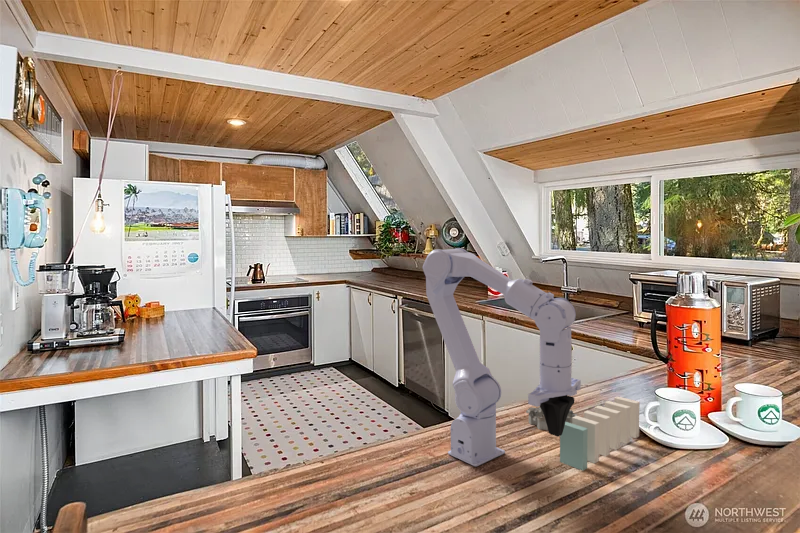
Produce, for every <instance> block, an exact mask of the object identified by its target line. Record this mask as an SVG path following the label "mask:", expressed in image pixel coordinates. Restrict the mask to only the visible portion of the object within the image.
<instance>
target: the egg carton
mask: <svg viewBox="0 0 800 533" xmlns="http://www.w3.org/2000/svg"><path fill="white" fill-rule="evenodd" d="M525 413H526V414H528V424H530V425H534V426H536V428H537V429H538V430H542V431H543V430H545V431H548V428H547V424H546V420H545V417H544V414H543V412H542V410H541V408H540V406H538V407H532V406H531V407H529V408H527V410H526V411H525ZM575 416H578V413H574V411H573V410H572V409H570V411H569V413H568V415H567V418H566V422H568V423H572V417H575Z"/></svg>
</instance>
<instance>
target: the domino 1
mask: <svg viewBox="0 0 800 533" xmlns="http://www.w3.org/2000/svg"><path fill="white" fill-rule="evenodd" d="M559 462H560V463H563V464H564V465H567V466H570V467H572V468H575V469H576V470H577V469H578V470H580V471H582V472H584V471H585V470H587V469H588V461H587V428H584V427H581V426H578V425H575V424H572V423H568V422H565V426H564V429H563V433H562V435H560V436H559Z"/></svg>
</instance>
